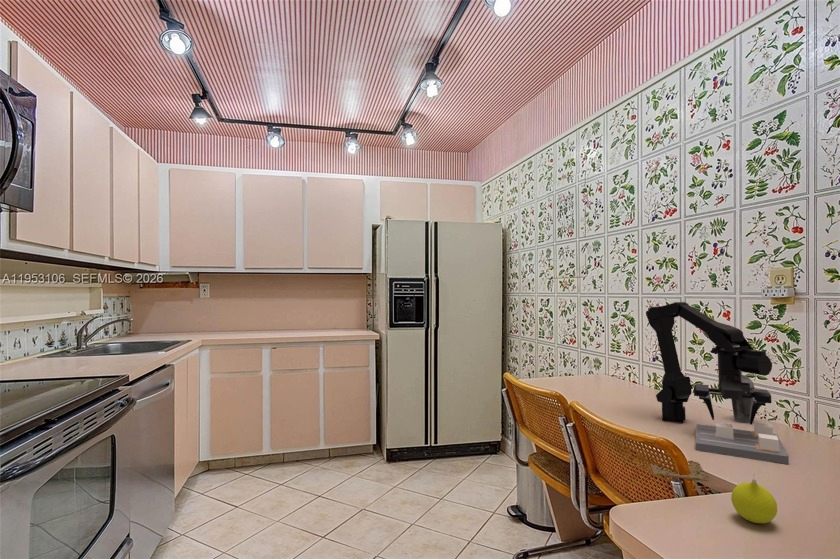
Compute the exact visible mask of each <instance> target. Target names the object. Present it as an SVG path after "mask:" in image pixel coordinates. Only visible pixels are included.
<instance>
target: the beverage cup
mask: <svg viewBox="0 0 840 559" xmlns="http://www.w3.org/2000/svg"><path fill="white" fill-rule="evenodd" d="M742 383H750V392H752V389H756V388H755V384H754V382H753V381H752V379H751V378H750V377H749V376H747V375H743V374H742ZM751 399H752V398H745V397H742V400H736V399H730V400H731V404H732V412H733V418H734V421H735V422H738V423H742V424H750V408H751Z"/></svg>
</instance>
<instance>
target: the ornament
mask: <svg viewBox="0 0 840 559" xmlns="http://www.w3.org/2000/svg"><path fill="white" fill-rule="evenodd" d="M754 475H755V473H754ZM730 499H731V500H730V501H731V504H732V506H733V508H734V510H735V511H736V512H737V514H738V515H739V516H741V517H742V518H744V519H745V521H746V520H747V521H749V522H751V523H754V524H768V523H769V522H771V521H773V520H774V519H775V518H776V516H777V513H778V504H777V501H776V498H775V497H774V496H773V494H772V492H770V491H769V490H768V489H767V488H765V487H764V486H762V485H760V484H758V483H757V479H756V477H752V478H751V482H741V483H739V484H737V485H736V486H735V487H734V488H733V490H732V492H731V497H730Z"/></svg>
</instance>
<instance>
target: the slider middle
mask: <svg viewBox="0 0 840 559" xmlns="http://www.w3.org/2000/svg"><path fill="white" fill-rule="evenodd" d="M715 426H716V437H723V438H731V439H733V429H734V427H733V424H731V423H723V422H715Z"/></svg>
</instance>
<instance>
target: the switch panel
mask: <svg viewBox="0 0 840 559" xmlns="http://www.w3.org/2000/svg"><path fill="white" fill-rule="evenodd" d="M695 428H696V429H695V450H696V451H699V450H700V451H701V452H705V451H706V452H705V453H712V454H720V455H725V456H733V457H739V458H745V459H752V460H758V461H765V462H770V463H771V462H772V463H778V464H782V465H783V464H784V465H790V461H789V460H790V458H789V455H788V453H787V451H786V449H785V447H784V445H783V443H782V441H781V439H780V437H779V435H778V434H777V433H773V435H775V436H777V437H778V439H779V452H778V451H771V450H764V449H760V447H759V445H758V436H755V433H754V430H746V429H739V428H738V429H736V428H733V439H731V438H723V437H716V425H715V426H713V425H709V424H708V425H707V424H699V423H696V425H695Z"/></svg>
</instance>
